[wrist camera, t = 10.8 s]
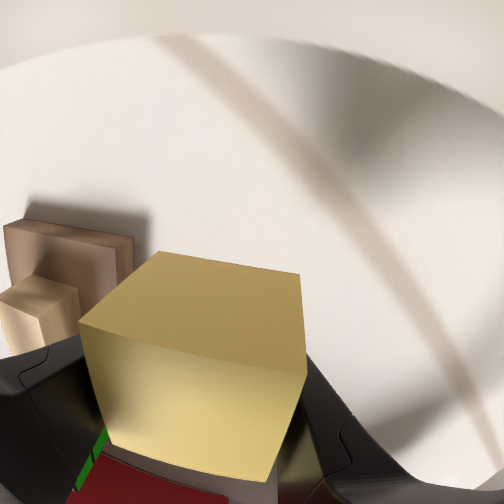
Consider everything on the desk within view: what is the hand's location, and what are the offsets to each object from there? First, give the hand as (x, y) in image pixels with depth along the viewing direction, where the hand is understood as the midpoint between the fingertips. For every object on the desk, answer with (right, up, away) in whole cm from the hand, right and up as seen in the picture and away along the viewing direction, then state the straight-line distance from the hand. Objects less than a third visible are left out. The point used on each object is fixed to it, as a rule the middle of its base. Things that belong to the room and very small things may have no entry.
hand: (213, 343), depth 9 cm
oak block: (-14, -2, +10) cm, 17 cm away
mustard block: (0, 0, +1) cm, 1 cm away
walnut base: (-14, -1, +13) cm, 18 cm away
